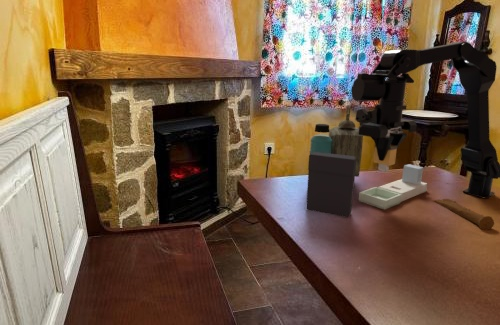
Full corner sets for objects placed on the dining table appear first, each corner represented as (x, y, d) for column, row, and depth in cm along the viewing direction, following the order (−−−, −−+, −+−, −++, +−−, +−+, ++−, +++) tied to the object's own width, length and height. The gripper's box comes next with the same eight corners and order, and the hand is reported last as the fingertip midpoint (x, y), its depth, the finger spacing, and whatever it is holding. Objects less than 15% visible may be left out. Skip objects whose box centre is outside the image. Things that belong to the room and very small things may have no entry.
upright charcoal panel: (351, 212, 90) (357, 155, 87) (348, 218, 87) (354, 159, 83) (309, 205, 95) (313, 150, 91) (305, 210, 91) (308, 154, 87)
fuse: (405, 186, 111) (408, 164, 109) (419, 190, 108) (423, 167, 106) (400, 188, 109) (403, 165, 107) (415, 192, 106) (418, 169, 104)
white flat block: (404, 185, 113) (405, 177, 112) (426, 191, 108) (427, 183, 107) (378, 194, 104) (379, 186, 103) (400, 201, 99) (401, 193, 98)
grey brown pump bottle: (357, 191, 106) (366, 107, 100) (327, 189, 108) (333, 106, 101) (352, 177, 120) (359, 103, 114) (325, 175, 122) (331, 102, 115)
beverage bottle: (332, 188, 108) (337, 123, 103) (324, 194, 103) (329, 126, 98) (312, 184, 112) (316, 121, 106) (303, 190, 106) (307, 124, 101)
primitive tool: (431, 201, 101) (433, 189, 100) (449, 201, 101) (451, 189, 100) (480, 232, 82) (483, 218, 81) (501, 231, 83) (505, 217, 82)
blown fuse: (378, 168, 98) (381, 142, 97) (394, 171, 95) (397, 145, 93) (372, 169, 97) (375, 144, 95) (387, 173, 93) (391, 147, 91)
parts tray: (374, 194, 104) (375, 186, 103) (400, 203, 98) (401, 194, 97) (358, 200, 99) (359, 192, 98) (384, 209, 93) (385, 200, 92)
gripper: (383, 97, 103) (377, 149, 107) (343, 99, 91) (338, 158, 95) (421, 100, 94) (413, 157, 98) (382, 103, 83) (375, 167, 87)
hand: (384, 159), depth 95 cm, fingers closed on blown fuse, 3 cm apart
